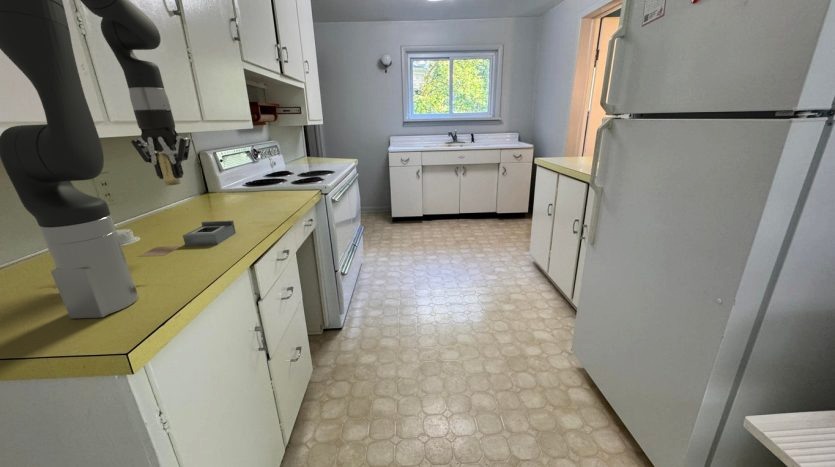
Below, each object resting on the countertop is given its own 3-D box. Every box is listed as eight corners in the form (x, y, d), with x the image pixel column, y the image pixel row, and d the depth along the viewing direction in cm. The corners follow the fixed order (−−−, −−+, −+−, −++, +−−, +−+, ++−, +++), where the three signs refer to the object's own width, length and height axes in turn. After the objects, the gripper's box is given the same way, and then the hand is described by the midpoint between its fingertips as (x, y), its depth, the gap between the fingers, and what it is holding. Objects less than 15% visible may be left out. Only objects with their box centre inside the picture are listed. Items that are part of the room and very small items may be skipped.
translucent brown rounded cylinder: (175, 185, 88) (166, 153, 86) (162, 185, 88) (153, 154, 86) (183, 182, 92) (175, 152, 89) (170, 183, 92) (162, 152, 89)
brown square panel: (165, 259, 88) (164, 255, 87) (138, 260, 88) (137, 256, 88) (182, 249, 94) (181, 245, 94) (157, 250, 94) (156, 246, 94)
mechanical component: (93, 248, 99) (102, 255, 93) (88, 234, 97) (96, 240, 91) (135, 238, 106) (146, 244, 100) (131, 225, 105) (141, 230, 99)
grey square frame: (218, 247, 94) (214, 230, 93) (186, 249, 94) (181, 232, 93) (236, 236, 104) (233, 220, 102) (207, 237, 104) (203, 221, 102)
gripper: (110, 109, 80) (133, 182, 86) (171, 107, 80) (190, 179, 86) (134, 109, 87) (154, 176, 93) (190, 107, 87) (206, 174, 93)
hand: (171, 177), depth 89 cm, fingers closed on translucent brown rounded cylinder, 3 cm apart
